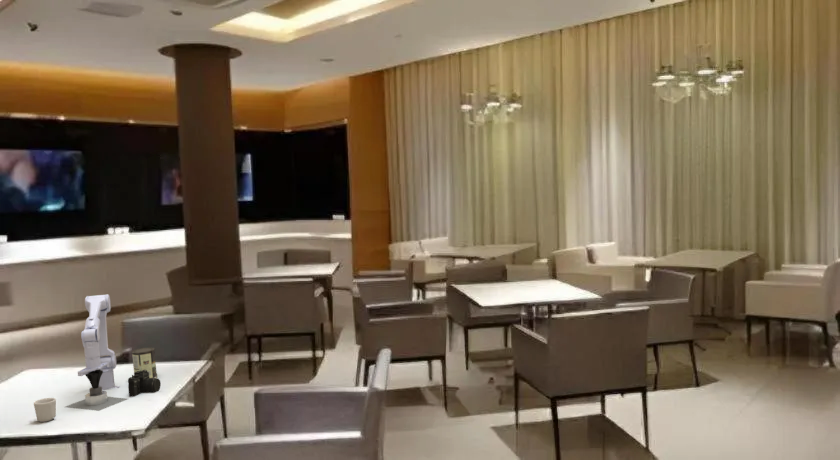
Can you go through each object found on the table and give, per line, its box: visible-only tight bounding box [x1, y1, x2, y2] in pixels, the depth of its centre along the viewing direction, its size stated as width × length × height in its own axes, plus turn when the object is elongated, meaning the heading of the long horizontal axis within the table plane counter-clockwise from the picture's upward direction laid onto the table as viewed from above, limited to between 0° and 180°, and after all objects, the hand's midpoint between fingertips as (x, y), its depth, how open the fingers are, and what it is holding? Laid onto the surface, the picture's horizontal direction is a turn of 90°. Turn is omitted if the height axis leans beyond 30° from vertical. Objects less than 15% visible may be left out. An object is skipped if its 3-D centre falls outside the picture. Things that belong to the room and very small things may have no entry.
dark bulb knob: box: [89, 386, 103, 395], centre depth 304 cm, size 5×5×6 cm
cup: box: [33, 397, 57, 423], centre depth 289 cm, size 11×8×8 cm
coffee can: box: [131, 347, 158, 379], centre depth 342 cm, size 10×10×14 cm
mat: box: [64, 396, 128, 412], centre depth 304 cm, size 20×16×1 cm
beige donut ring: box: [84, 390, 108, 406], centre depth 304 cm, size 8×8×4 cm
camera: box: [127, 370, 161, 398], centre depth 316 cm, size 14×11×10 cm
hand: (95, 388), depth 303 cm, fingers closed, pressing on dark bulb knob
